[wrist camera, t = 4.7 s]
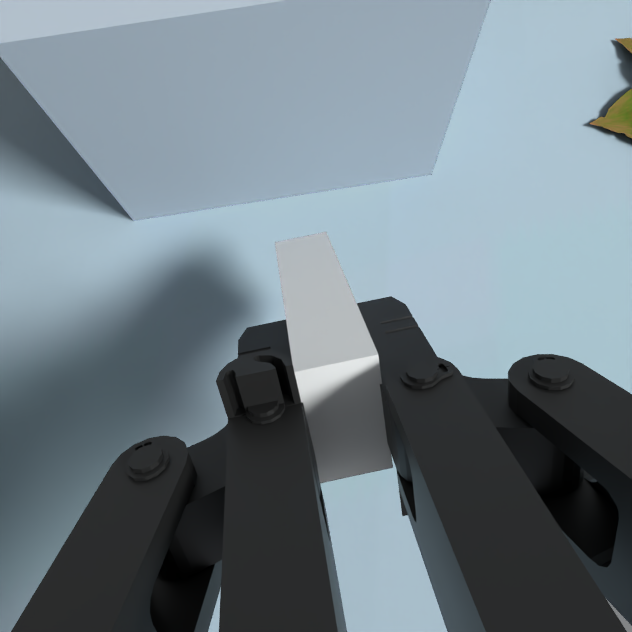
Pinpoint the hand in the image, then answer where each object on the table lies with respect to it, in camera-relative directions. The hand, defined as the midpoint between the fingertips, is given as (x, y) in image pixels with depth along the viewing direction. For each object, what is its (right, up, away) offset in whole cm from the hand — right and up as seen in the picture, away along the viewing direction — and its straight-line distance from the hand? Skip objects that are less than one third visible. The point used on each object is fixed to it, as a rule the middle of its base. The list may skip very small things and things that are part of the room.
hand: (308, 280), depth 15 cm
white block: (-2, +7, +7) cm, 10 cm away
